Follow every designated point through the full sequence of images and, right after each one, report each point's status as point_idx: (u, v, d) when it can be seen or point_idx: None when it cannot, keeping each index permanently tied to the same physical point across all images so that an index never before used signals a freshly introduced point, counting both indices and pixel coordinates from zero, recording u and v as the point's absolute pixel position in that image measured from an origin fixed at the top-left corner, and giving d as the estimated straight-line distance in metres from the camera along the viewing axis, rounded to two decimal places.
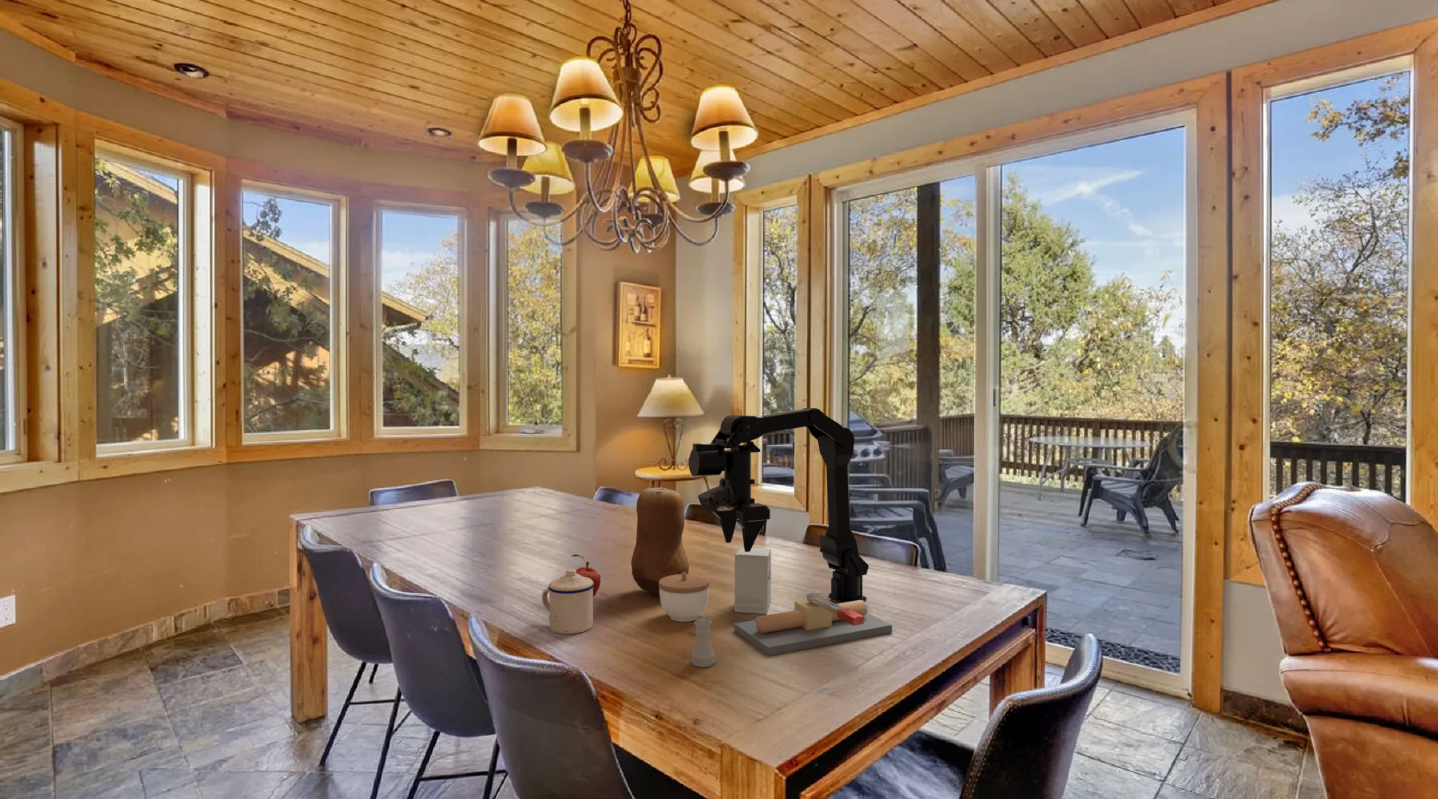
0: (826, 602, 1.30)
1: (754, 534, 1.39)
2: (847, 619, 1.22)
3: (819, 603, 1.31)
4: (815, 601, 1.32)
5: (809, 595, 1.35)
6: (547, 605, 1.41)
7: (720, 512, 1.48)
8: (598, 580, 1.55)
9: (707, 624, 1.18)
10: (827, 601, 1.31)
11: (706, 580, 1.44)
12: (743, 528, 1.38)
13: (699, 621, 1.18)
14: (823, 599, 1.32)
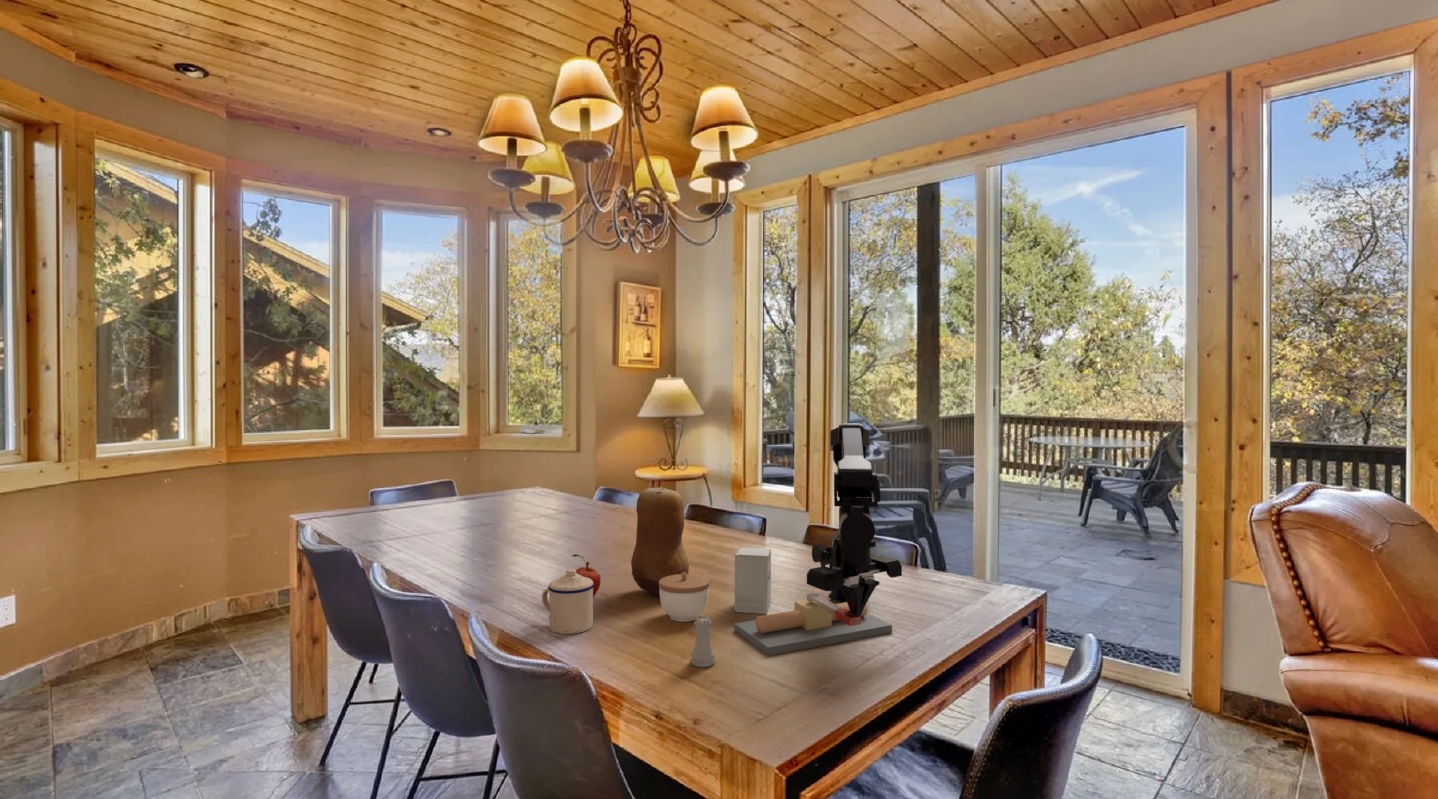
0: (825, 602, 1.30)
1: (853, 601, 1.23)
2: (844, 619, 1.22)
3: (818, 603, 1.31)
4: (814, 601, 1.32)
5: (809, 595, 1.35)
6: (547, 605, 1.41)
7: None
8: (598, 580, 1.55)
9: (707, 624, 1.18)
10: (826, 601, 1.30)
11: (706, 580, 1.44)
12: None
13: (699, 621, 1.18)
14: (822, 599, 1.32)
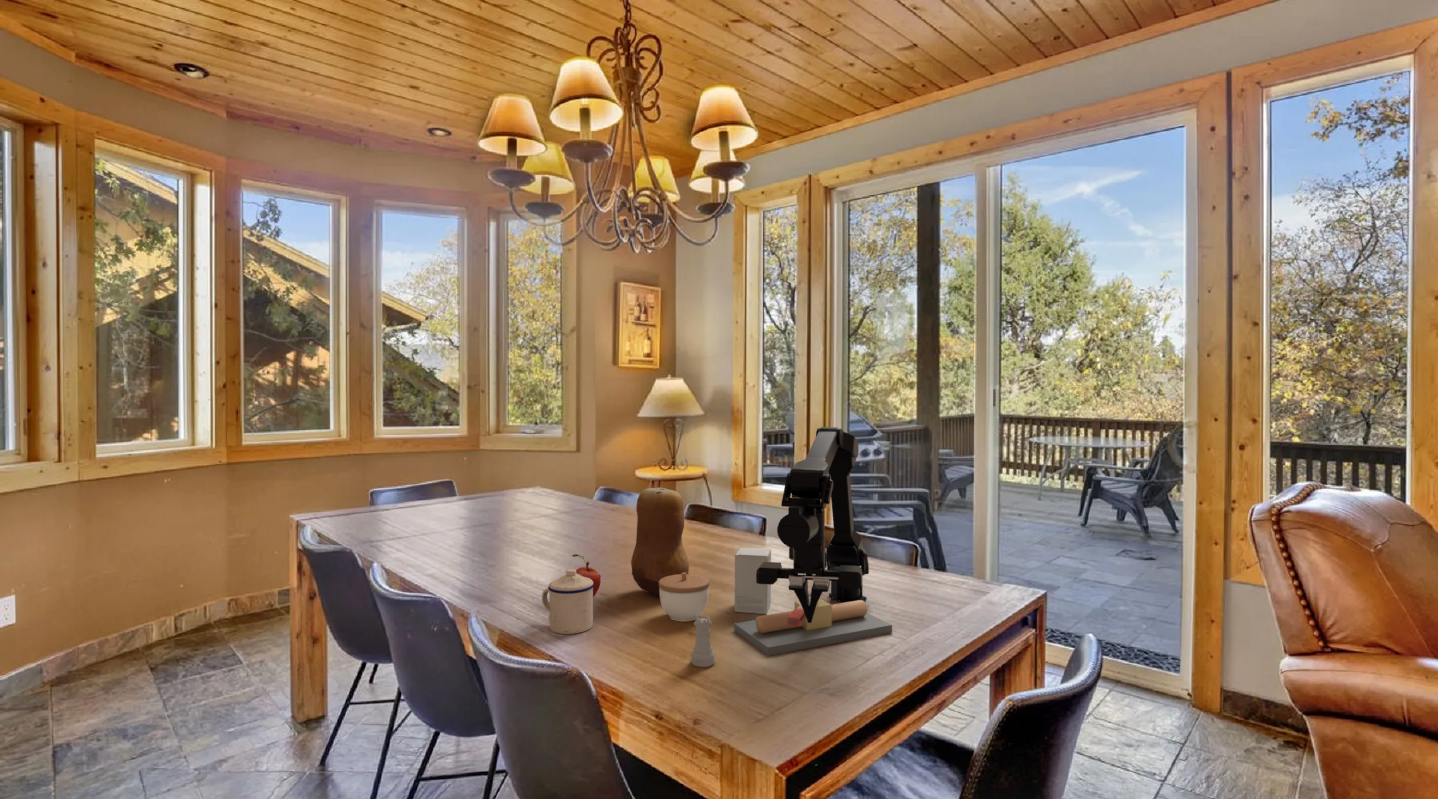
0: None
1: None
2: None
3: None
4: None
5: (809, 594, 1.35)
6: (547, 605, 1.41)
7: None
8: (598, 580, 1.55)
9: (707, 624, 1.18)
10: None
11: (706, 580, 1.44)
12: None
13: (699, 621, 1.18)
14: None
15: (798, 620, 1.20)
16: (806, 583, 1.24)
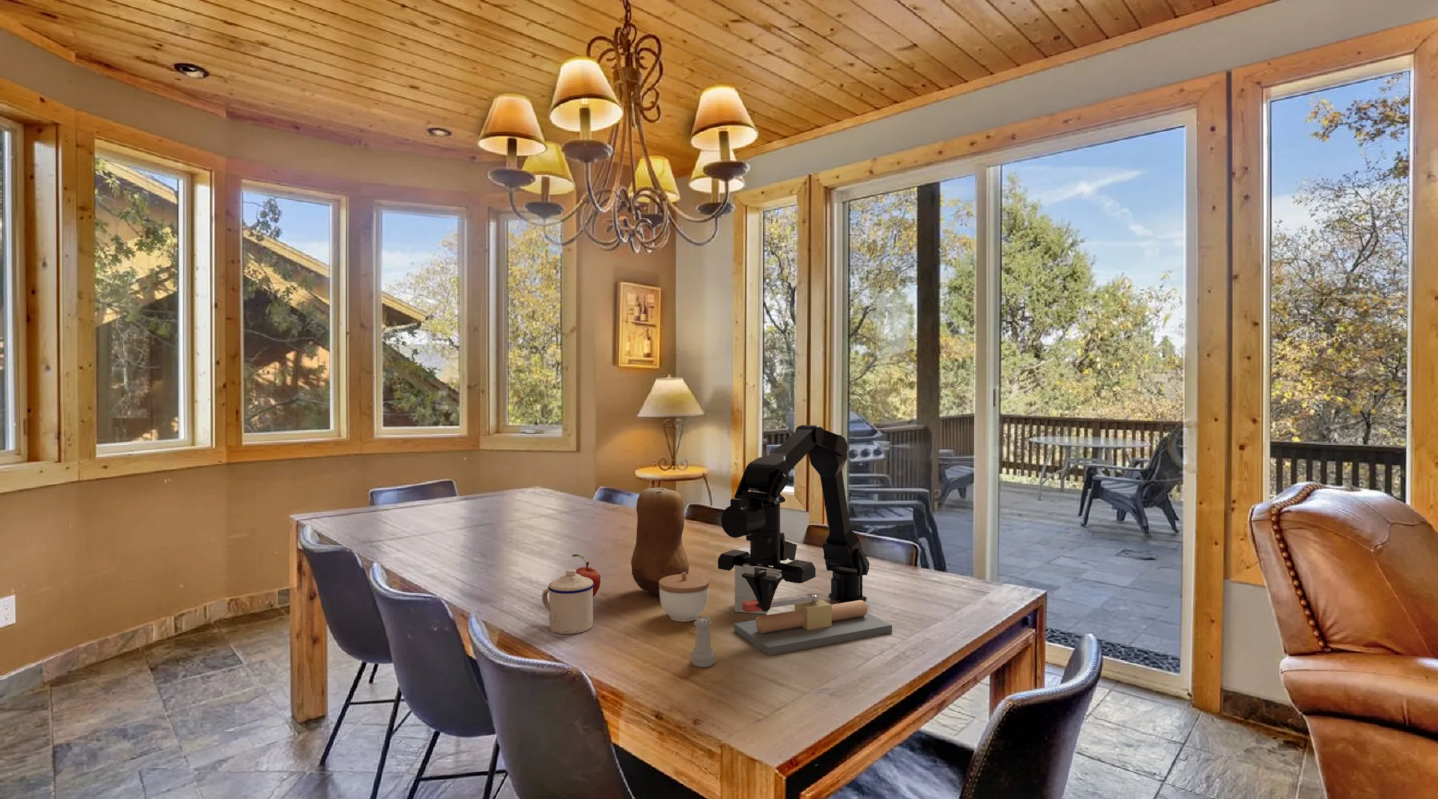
0: (790, 598, 1.33)
1: None
2: None
3: None
4: None
5: (811, 594, 1.35)
6: (547, 605, 1.41)
7: None
8: (598, 580, 1.55)
9: (707, 624, 1.18)
10: (792, 598, 1.33)
11: (706, 580, 1.44)
12: None
13: (699, 621, 1.18)
14: (799, 597, 1.33)
15: (746, 606, 1.28)
16: (764, 573, 1.29)
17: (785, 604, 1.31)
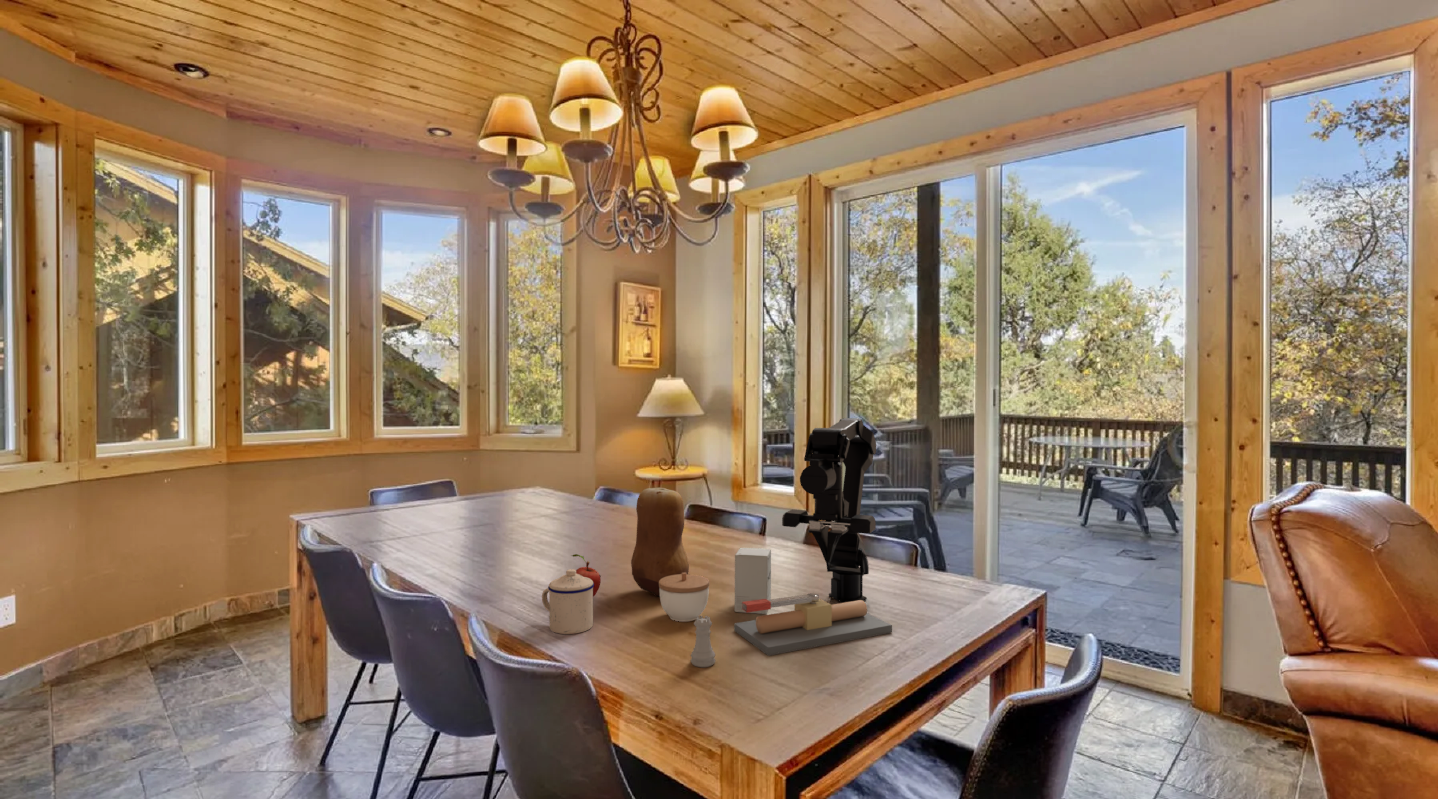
0: (790, 598, 1.33)
1: None
2: None
3: None
4: None
5: (811, 594, 1.35)
6: (547, 605, 1.41)
7: None
8: (598, 580, 1.55)
9: (707, 624, 1.18)
10: (792, 598, 1.33)
11: (706, 580, 1.44)
12: None
13: (699, 621, 1.18)
14: (799, 597, 1.33)
15: (746, 606, 1.28)
16: (825, 528, 1.43)
17: (785, 604, 1.31)
